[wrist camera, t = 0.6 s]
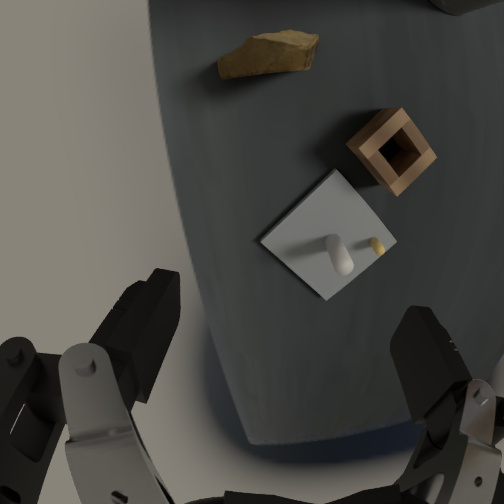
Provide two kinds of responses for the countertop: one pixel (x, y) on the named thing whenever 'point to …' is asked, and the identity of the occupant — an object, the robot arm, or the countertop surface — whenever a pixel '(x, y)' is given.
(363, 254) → the post board
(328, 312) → the countertop surface
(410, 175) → the wooden square frame
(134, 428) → the robot arm
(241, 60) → the rock
